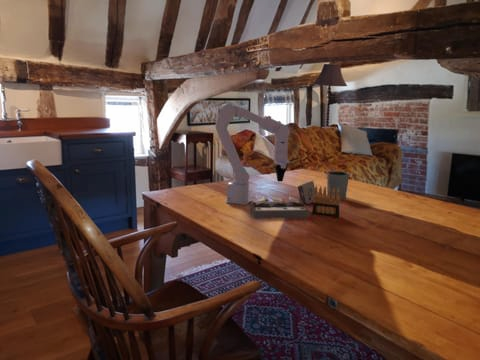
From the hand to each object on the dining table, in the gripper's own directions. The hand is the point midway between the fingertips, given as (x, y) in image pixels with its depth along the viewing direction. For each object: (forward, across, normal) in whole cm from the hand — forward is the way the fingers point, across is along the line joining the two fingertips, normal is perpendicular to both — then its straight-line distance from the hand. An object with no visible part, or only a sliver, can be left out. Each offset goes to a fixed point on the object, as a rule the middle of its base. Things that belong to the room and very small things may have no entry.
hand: (279, 181), depth 164 cm
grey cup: (+10, +5, -28) cm, 30 cm away
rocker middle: (+4, -16, +3) cm, 17 cm away
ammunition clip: (+10, -21, -15) cm, 28 cm away
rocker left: (+4, -16, +10) cm, 19 cm away
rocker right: (+4, -16, -4) cm, 17 cm away
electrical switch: (+10, -1, -13) cm, 16 cm away
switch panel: (+9, -17, +3) cm, 20 cm away
